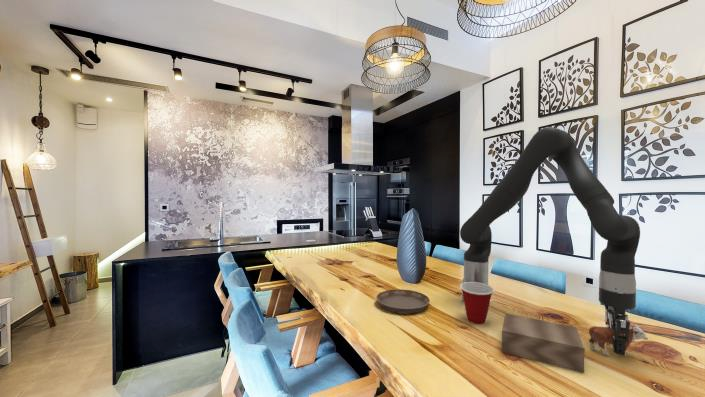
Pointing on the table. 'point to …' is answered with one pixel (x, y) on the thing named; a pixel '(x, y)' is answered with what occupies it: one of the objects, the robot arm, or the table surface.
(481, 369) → the table surface
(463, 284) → the plastic cup
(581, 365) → the walnut block
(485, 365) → the table surface
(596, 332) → the bull figurine
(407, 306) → the plant saucer
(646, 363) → the table surface
